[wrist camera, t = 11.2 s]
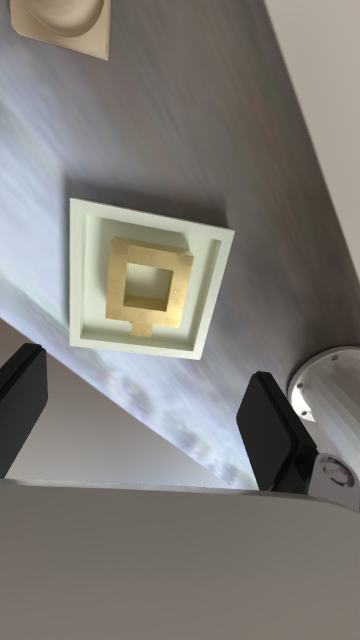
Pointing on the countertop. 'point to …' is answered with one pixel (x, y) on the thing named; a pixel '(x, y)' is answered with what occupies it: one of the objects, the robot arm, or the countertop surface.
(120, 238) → the ring
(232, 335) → the countertop surface
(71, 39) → the beige post on base
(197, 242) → the tray
